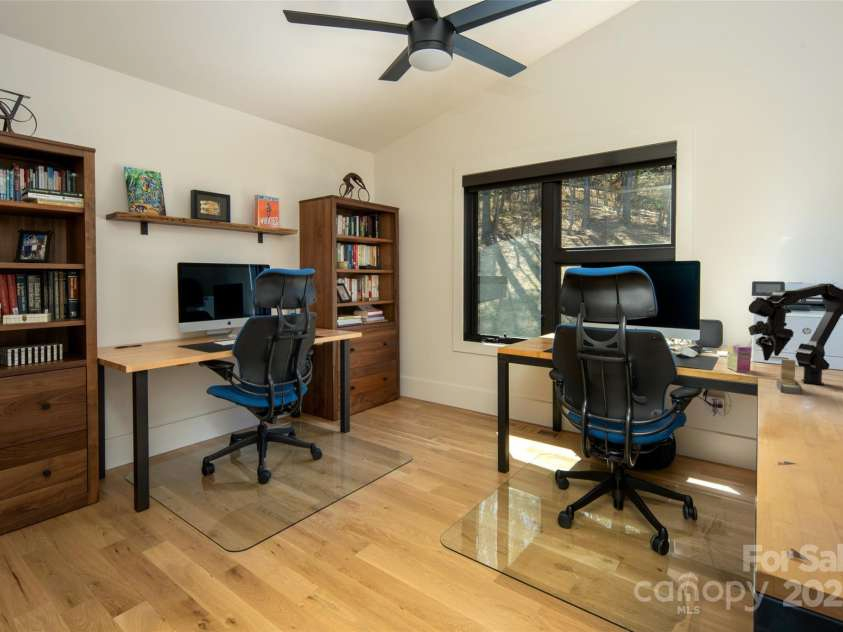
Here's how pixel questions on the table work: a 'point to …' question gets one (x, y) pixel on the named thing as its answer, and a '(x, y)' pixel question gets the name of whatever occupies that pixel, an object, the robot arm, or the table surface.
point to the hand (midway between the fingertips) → (771, 358)
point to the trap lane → (789, 387)
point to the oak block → (788, 372)
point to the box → (739, 357)
